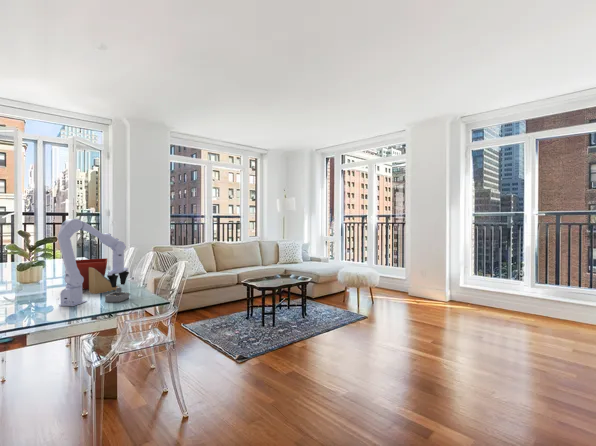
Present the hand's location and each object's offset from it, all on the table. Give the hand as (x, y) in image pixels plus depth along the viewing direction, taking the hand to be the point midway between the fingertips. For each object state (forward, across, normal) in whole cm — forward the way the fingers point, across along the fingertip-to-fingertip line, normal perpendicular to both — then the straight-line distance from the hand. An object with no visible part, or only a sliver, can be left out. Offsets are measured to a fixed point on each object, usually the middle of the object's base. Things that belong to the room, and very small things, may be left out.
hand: (118, 285), depth 188 cm
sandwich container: (+6, +10, +16) cm, 20 cm away
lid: (+5, 0, 0) cm, 5 cm away
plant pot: (+6, +17, +32) cm, 37 cm away
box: (+6, -9, -6) cm, 13 cm away
